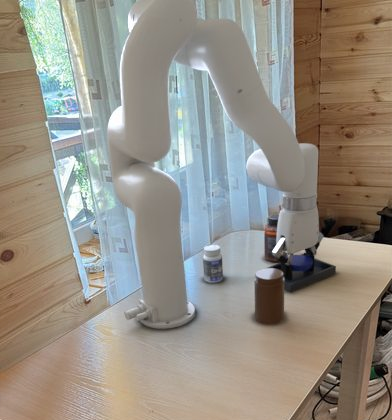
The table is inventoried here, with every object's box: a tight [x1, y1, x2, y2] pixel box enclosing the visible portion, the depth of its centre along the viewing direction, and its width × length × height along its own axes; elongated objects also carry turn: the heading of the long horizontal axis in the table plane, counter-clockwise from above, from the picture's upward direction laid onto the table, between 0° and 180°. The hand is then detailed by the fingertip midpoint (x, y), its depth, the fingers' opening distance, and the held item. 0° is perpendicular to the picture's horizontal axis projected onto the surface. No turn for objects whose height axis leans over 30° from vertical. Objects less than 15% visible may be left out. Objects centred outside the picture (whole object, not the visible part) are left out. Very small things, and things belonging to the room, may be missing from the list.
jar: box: [253, 267, 286, 325], centre depth 108 cm, size 6×6×10 cm
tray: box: [264, 253, 337, 293], centre depth 127 cm, size 15×11×2 cm
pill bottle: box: [202, 244, 224, 284], centre depth 127 cm, size 5×5×8 cm
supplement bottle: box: [263, 214, 288, 263], centre depth 135 cm, size 6×6×11 cm
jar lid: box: [286, 254, 313, 271], centre depth 125 cm, size 7×7×2 cm
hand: (297, 273), depth 127 cm, fingers closed on jar lid, 6 cm apart
